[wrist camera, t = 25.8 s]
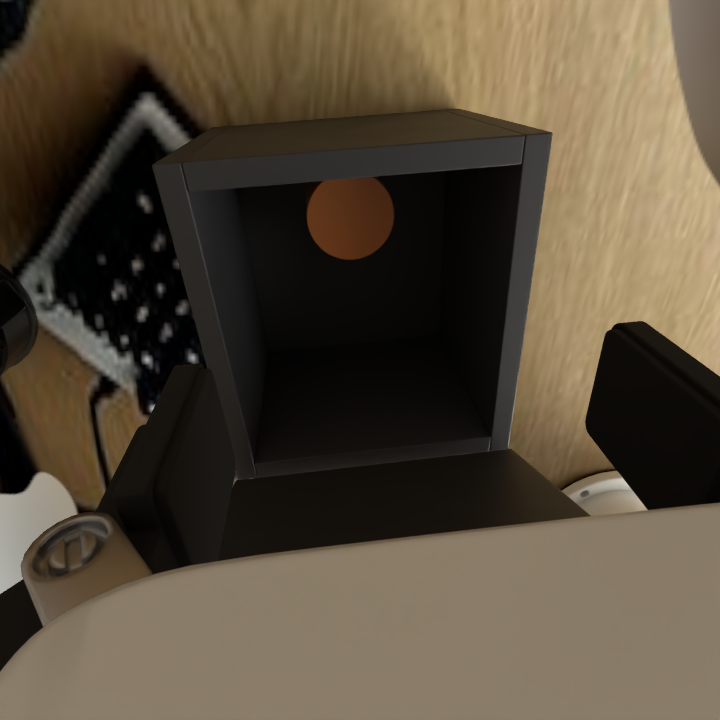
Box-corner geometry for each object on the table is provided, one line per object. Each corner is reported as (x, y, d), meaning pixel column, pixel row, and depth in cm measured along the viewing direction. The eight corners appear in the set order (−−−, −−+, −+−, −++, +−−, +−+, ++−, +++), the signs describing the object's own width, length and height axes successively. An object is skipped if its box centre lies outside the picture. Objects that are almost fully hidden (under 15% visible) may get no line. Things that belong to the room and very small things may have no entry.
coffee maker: (210, 127, 26) (150, 164, 16) (459, 108, 27) (553, 132, 17) (258, 357, 34) (237, 480, 24) (449, 338, 35) (508, 449, 25)
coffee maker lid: (49, 845, 8) (101, 1078, 9) (844, 724, 9) (833, 949, 9) (235, 479, 23) (248, 572, 24) (511, 447, 24) (516, 539, 25)
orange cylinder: (334, 246, 29) (339, 275, 25) (290, 184, 27) (288, 206, 23) (394, 204, 28) (410, 228, 24) (354, 137, 26) (363, 151, 22)
